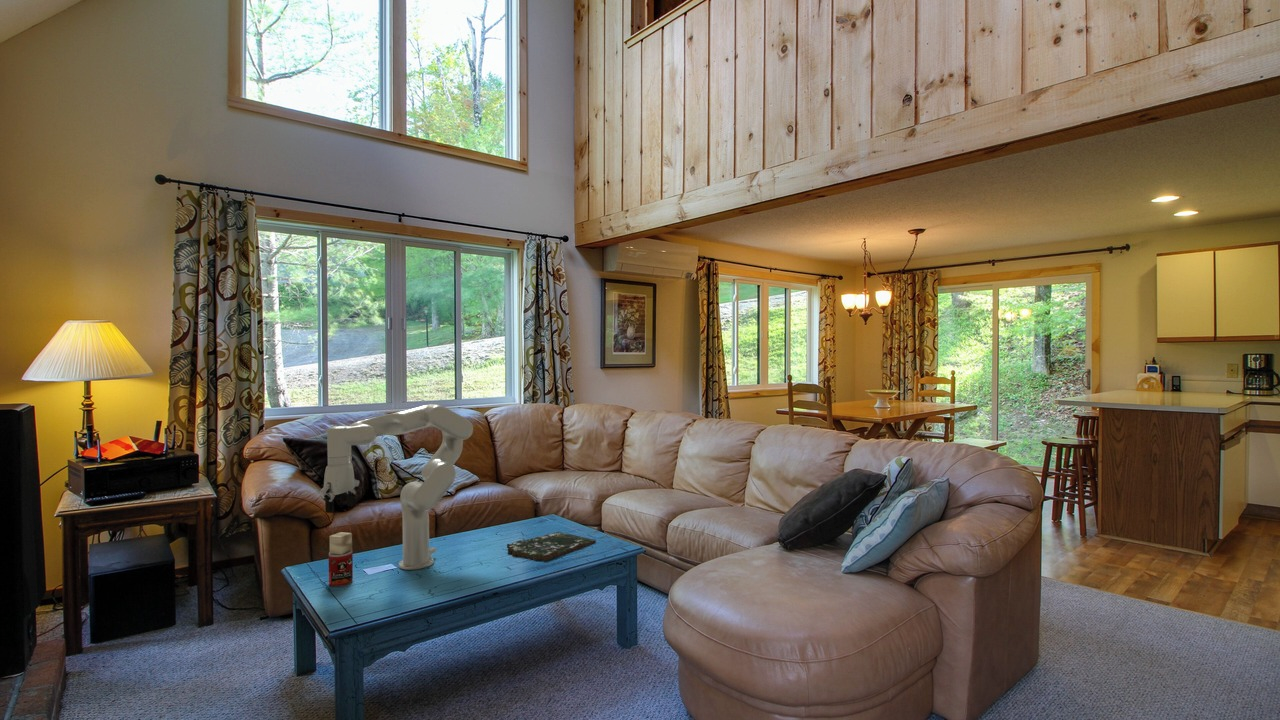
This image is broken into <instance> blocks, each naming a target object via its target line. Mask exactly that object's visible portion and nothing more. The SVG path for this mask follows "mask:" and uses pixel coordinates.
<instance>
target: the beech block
mask: <svg viewBox="0 0 1280 720" xmlns="http://www.w3.org/2000/svg"><path fill="white" fill-rule="evenodd" d="M352 537H353V534H352V533H351V532H345V531H344V532H342V531H341V532H337V533H334V534H331V535H329V552H330V553H333V554H343V553H346V552H348V551H351V550H352V551H353V539H352Z"/></svg>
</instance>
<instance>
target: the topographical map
mask: <svg viewBox="0 0 1280 720" xmlns="http://www.w3.org/2000/svg"><path fill="white" fill-rule="evenodd" d="M595 543H597V542H596V539H593V538H589V537H583V536H580V535H575V534H571V533H565V532H561V531H556V532H552V533H547V534H544V535H541V536H536V537H532V538H528V539H521V540H517V541H515V542H511V543H508V544H506V548H507V555H512V557H513V558H522V559H523V558H524V559H528V560H533V561H539V562H544V563H545V562H547V561H551V560H553V559H556V558H558V557H561V556H565V555H566V554H569V553H571V552H572V553H573V552H574V551H577V550H580V549H582V548H584V547H587V546H591V545H592V544H595Z"/></svg>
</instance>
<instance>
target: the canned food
mask: <svg viewBox="0 0 1280 720" xmlns="http://www.w3.org/2000/svg"><path fill="white" fill-rule="evenodd" d="M353 553H354V552H353V549H352V550H351V551H348V552H346V553H343V554H333V553H330V551H329V552H328V583H329V586H332V587H342V586H346V585H349V584H351V583H352V582H353V579H354V576H353V575H354V572H353V571H354V570H353V569H354V564H353V563H354V562H353V560H354V556H353V555H354V554H353Z"/></svg>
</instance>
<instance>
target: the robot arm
mask: <svg viewBox="0 0 1280 720" xmlns="http://www.w3.org/2000/svg"><path fill="white" fill-rule="evenodd" d="M428 427H429V428H430V427H435V428H437V429H438V430H440V431H441V434H442V442H441V444H440V446H439V448H438V449H437V451H436V452H435V453H434V454H433V455H432V457H431V458H430V459H429V460H428V461H427V462H426V464H425V465H423V468H422V470H421V477H422V479H423V482H420V481H411V482H408V483H406V484H405V485H404V486H403V487H402V489H401V491H400V496H399V497H400V499H399V500H400V507H401V513H402V560H400V561H399V562H398V568H399V569H402V570H408V571H412V570H420V569H424V568H428V567H431V566H432V565H433V564H434V561H435V559H434V558H433V557H432V556H431V555H432V554H434V553H436V551H437V549H436V548H435V547H432V548H430V516H429V510H432V509H433V508H434V507H435V506H436V505H437V504H438V503H439V502H440V500H442V498H443V497H444V496H445V494H446V493H447V492H448V490H449V489H450V488H451V486H452V485H453V483H454V482H455V479H456V475H457V471H456V468H455V466H454V465H455V463H456V462H458V459H459V458H460V457H461V454H462V452H463V448H464V447H463V445H464V441H465V440H468V439H469V438H470V437H471V436H472V435H473V432H474V426H473V424H472V422H471V420H469V419H467V418H465V417H464V416H462V415H460V414H458V413H457V412H455V411H453V410H451V409H450V408H447V407H446V406H444V405H441V404H435V403H434V404H433V403H429V404H424V405H420V406H417V407H413V408H409V409H406V410H402V411H397V412H393V413H389V414H385V415H380V416H374V417H370V418H367V419H362V420H358V421H356V422H353V423H351V424H350V425H333V426H330V427H328V428H327V431H326V435H327V436H326V438H327V440H326V441H327V443H326V444H327V466H326V467H325V471H324V477H323V478H324V479H323V487H322V488H321V489H320V490H319V494H320V496H321V497H320V498H321V499H322V500H323V501H324V502H325V503H324V504H325V510H324V511H325V513H326V514H334V513H335V501H334V499H335V497H336V495H340V494H344V493H346V506H348V507H355V506H356V496H355V495H356V494H357V491H358V489H359V486H360V480H359V479H358V480H357V479H356V478H355V472H354V467H353V466H354V465H353V463H352V458H353V456H352V446H367V445H371V443H373V442H374V441H375V439H376V438H378V437H382V436H393V435H394V436H395V435H397V436H398V435H399V436H400V435H404V434H407V433H411V432H416V431H418V430H421V429H422V430H423V429H425V428H428Z"/></svg>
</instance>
